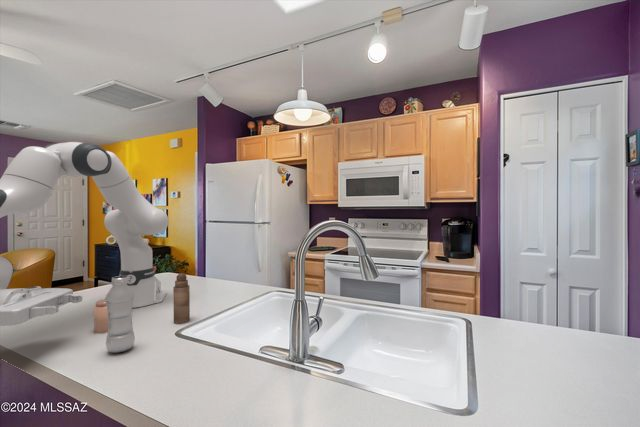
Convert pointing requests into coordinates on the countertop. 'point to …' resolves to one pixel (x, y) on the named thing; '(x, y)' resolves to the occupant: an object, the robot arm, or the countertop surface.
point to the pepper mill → (181, 299)
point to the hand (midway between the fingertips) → (69, 303)
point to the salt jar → (100, 317)
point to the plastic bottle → (119, 316)
